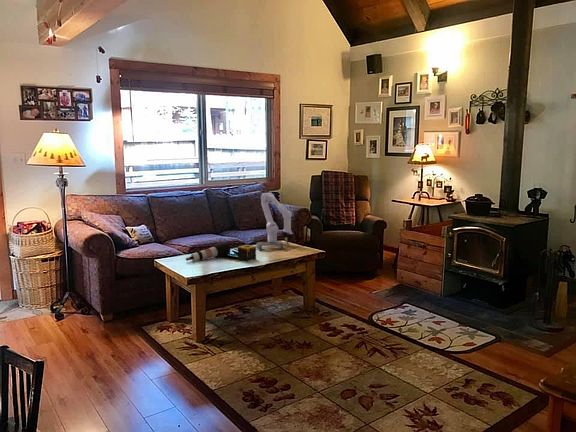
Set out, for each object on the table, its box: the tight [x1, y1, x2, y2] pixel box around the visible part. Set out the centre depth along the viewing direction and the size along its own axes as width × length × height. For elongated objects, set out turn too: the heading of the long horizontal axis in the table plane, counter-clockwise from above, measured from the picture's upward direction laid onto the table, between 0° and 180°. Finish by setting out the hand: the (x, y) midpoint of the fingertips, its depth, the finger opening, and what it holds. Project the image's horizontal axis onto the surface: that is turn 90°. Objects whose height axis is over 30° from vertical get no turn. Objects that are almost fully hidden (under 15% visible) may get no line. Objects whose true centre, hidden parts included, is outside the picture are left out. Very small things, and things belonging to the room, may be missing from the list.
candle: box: [237, 244, 257, 262], centre depth 354 cm, size 10×10×10 cm
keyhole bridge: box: [256, 240, 284, 252], centre depth 390 cm, size 10×20×5 cm, turn 106°
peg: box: [285, 237, 290, 247], centre depth 402 cm, size 4×4×7 cm
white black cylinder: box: [185, 241, 231, 262], centre depth 356 cm, size 10×34×10 cm, turn 128°
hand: (287, 241), depth 402 cm, fingers open, 6 cm apart
